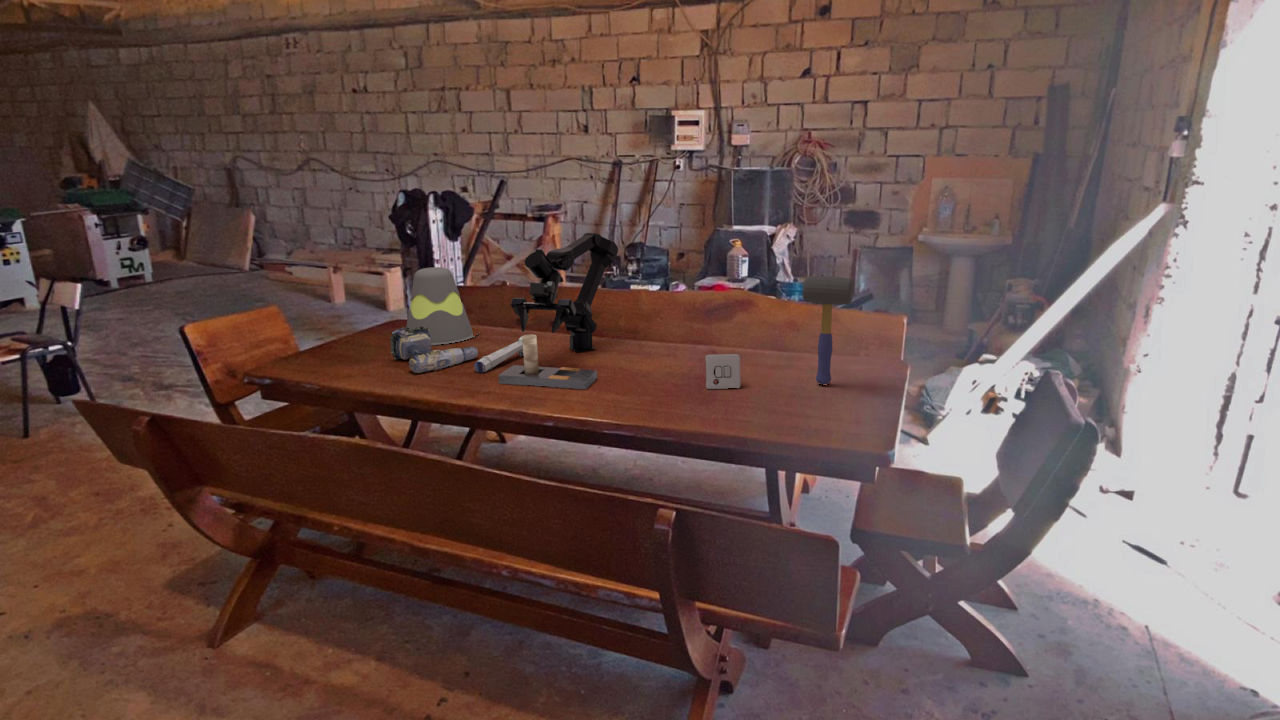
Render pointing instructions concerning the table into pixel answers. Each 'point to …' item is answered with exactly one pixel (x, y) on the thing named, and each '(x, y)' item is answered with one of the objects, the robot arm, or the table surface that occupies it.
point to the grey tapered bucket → (438, 307)
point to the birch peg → (530, 354)
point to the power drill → (425, 350)
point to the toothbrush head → (499, 356)
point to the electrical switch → (722, 371)
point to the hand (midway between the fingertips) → (537, 331)
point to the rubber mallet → (826, 313)
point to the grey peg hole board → (549, 377)
